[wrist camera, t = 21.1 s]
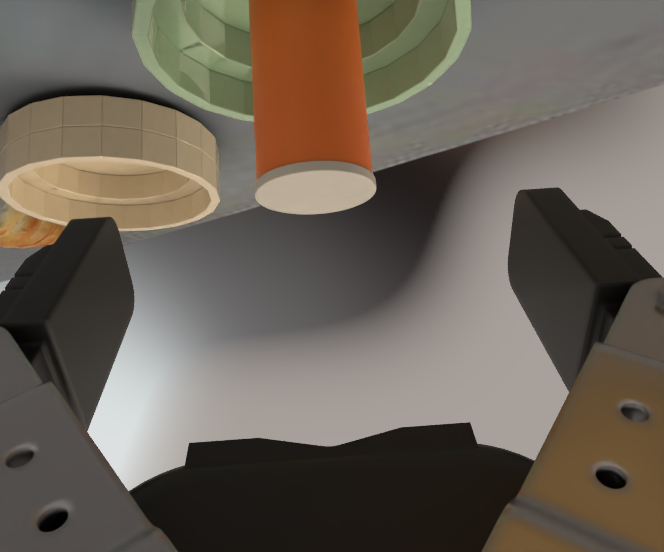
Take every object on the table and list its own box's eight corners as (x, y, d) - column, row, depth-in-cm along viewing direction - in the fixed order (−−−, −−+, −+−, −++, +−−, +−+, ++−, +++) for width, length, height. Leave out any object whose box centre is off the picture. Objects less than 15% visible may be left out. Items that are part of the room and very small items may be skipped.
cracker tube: (223, -23, 26) (231, 203, 24) (288, -96, 22) (305, 160, 20) (309, 17, 29) (324, 220, 26) (378, -42, 25) (401, 186, 23)
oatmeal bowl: (-21, 153, 41) (-25, 213, 40) (37, 60, 31) (34, 136, 30) (164, 189, 50) (165, 239, 49) (255, 125, 40) (258, 185, 39)
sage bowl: (83, -15, 26) (81, 73, 25) (251, -288, 17) (259, -163, 16) (321, 77, 35) (326, 146, 34) (525, -69, 25) (540, 22, 24)
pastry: (96, 215, 54) (95, 257, 53) (34, 227, 56) (32, 267, 55) (10, 180, 46) (8, 229, 45) (-59, 195, 48) (-63, 242, 47)
